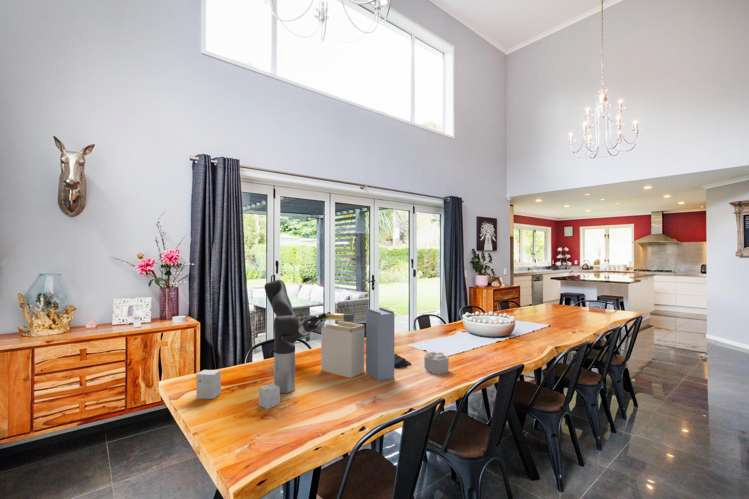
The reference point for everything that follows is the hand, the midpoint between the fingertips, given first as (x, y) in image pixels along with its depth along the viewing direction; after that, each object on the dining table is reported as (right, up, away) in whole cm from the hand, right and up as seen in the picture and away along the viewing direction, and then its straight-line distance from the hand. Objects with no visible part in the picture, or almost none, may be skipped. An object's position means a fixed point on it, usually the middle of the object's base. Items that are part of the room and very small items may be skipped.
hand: (327, 314), depth 190 cm
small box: (-46, -29, -39) cm, 67 cm away
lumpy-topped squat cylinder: (+58, -29, -3) cm, 65 cm away
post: (+28, -29, -12) cm, 42 cm away
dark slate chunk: (+35, -30, +9) cm, 47 cm away
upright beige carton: (+9, -29, -6) cm, 31 cm away
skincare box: (-18, -29, -47) cm, 58 cm away
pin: (+4, -3, -3) cm, 5 cm away
